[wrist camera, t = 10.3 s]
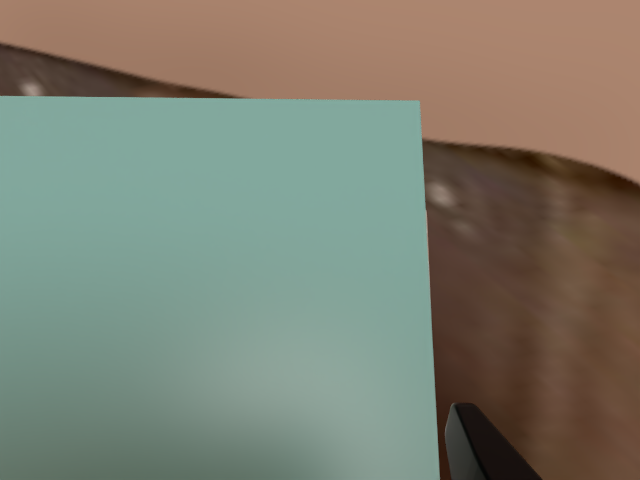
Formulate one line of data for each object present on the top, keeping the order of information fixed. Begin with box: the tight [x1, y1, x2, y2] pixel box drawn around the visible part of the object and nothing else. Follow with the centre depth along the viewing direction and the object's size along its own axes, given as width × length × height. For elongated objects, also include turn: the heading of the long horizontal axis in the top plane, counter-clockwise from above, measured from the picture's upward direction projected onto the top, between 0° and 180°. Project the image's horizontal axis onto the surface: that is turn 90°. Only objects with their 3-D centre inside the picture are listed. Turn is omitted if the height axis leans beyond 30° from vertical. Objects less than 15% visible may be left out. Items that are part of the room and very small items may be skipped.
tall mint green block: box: [0, 96, 440, 480], centre depth 10 cm, size 6×6×12 cm
